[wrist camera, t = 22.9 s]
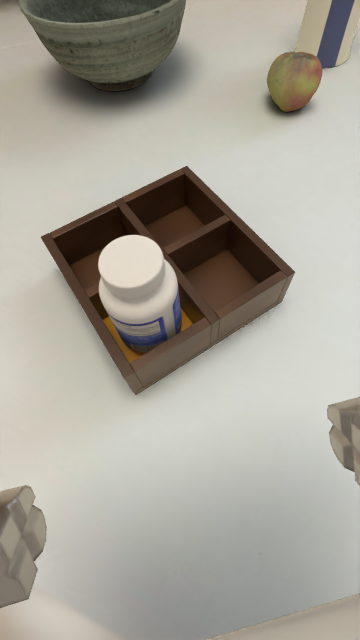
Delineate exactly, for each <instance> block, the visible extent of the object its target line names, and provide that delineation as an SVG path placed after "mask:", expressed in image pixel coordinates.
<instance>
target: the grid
mask: <svg viewBox="0 0 360 640" xmlns="http://www.w3.org/2000/svg"><path fill="white" fill-rule="evenodd" d="M127 235H140V236H144V237H147V238H149V239H151V240H153V241H154V242H155V243H157V245H158V246H159V247H160V249H161V251H162V253H163V257H164V259H165V260H166V261H167V262H168V263H169V264H170V265H171V267H172V268H173V270H174V272H175V274H176V277H177V282H178V290H179V300H180V310H181V319H182V327H181V332H180V333H178V334H176V335H175V336H173V337H171V338H170V339H168V340H167V341H165V342H163V343H162V344H160V345H158V346H157V347H155V348H153V349H152V350H150V351H149V352H147V353H145V354H144V355H141V354H138V353H135V352H133V351H132V350H130V349H129V348H128V347H127V346H126V345H125V344H124V342H123V341H122V339H121V338H120V336H119V334H118V332H117V330H116V328H115V326H114V324H113V323H112V321H111V319H110V317H109V315H108V313H107V311H106V310H105V308H104V306H103V303H102V301H101V299H100V295H99V282H100V278H101V275H100V272H99V268H98V261H99V257H100V254H101V252H102V251H103V249H104V248H105V247H106V246H107V245H108V244H109V243H110V242H112V241H113V240H115V239H117V238H120V237H123V236H127ZM41 239H42V240H43V242H44V244H45V245H46V247H47V249H48V250H49V252H50V254H51V255H52V257H53V259H54V260H55V262H56V264H57V266H58V267H59V269H60V271H61V272H62V274H63V276H64V277H65V279H66V281H67V282H68V284H69V286H70V287H71V289H72V291H73V293H74V294H75V296H76V298H77V299H78V301H79V303H80V304H81V306H82V308H83V309H84V311H85V313H86V314H87V316H88V318H89V320H90V321H91V323H92V325H93V326H94V328H95V330H96V331H97V333H98V335H99V336H100V338H101V340H102V341H103V343H104V345H105V347H106V348H107V350H108V352H109V353H110V355H111V357H112V358H113V360H114V362H115V363H116V365H117V367H118V368H119V370H120V372H121V374H122V375H123V377H124V379H125V380H126V382H127V383H128V384H129V386H130V387H131V389H132V390H133V392H134V393H135V395H137V394H138V393H140V392H141V391H143V390H144V389H146V388H148V387H149V386H151V385H152V384H154V383H155V382H157V381H158V380H160V379H162V378H163V377H165V376H166V375H168V374H169V373H171V372H173V371H174V370H176V369H177V368H179V367H180V366H182V365H183V364H185V363H187V362H188V361H190V360H191V359H193V358H194V357H196V356H198V355H199V354H201V353H202V352H204V351H205V350H207V349H208V348H210V347H212V346H213V345H215V344H216V343H218V342H219V341H221V340H223V339H224V338H226V337H227V336H229V335H230V334H232V333H233V332H235V331H237V330H238V329H240V328H241V327H243V326H244V325H246V324H247V323H249V322H251V321H252V320H254V319H255V318H257V317H258V316H260V315H262V314H263V313H265V312H266V311H268V310H269V309H271V308H272V307H274V306H276V305H277V304H279V303H280V302H282V300H283V298H284V296H285V293H286V291H287V289H288V287H289V285H290V282H291V280H292V278H293V276H294V273H295V271H294V270H293V269H292V268H291V267H290V266H288V265H287V264H286V263H285V262H284V261H283V260H282V259H281V258H280V257H279V256H278V255H277V254H276V253H275V252H274V251H273V250H272V249H271V248H270V247H269V246H268V245H267V244H266V243H265V242H264V241H263V240H262V239H261V238H260V237H259V236H258V235H257V234H256V233H255V232H254V231H253V230H252V229H251V228H250V227H249V226H248V225H247V224H246V223H245V222H244V221H243V220H242V219H241V218H239V217H238V216H237V215H236V214H235V213H234V212H233V211H232V210H231V209H230V208H229V207H228V206H227V205H226V204H225V203H224V202H223V201H222V200H221V199H220V198H219V197H218V196H217V195H216V194H215V193H214V192H213V191H212V190H211V189H210V188H209V187H208V186H207V185H206V184H205V183H204V182H203V181H202V180H201V179H200V178H199V177H198V176H197V175H196V174H195V173H194V172H193V171H192V170H190V169H189V168H188V167H187V166H185V167H183V168H181V169H179V170H177V171H175V172H173V173H171V174H169V175H167V176H165V177H163V178H161V179H159V180H157V181H155V182H153V183H151V184H149V185H147V186H144V187H142V188H140V189H138V190H136V191H134V192H132V193H130V194H128V195H126V196H124V197H122V198H120V199H118V200H116V201H114V202H112V203H110V204H108V205H106V206H104V207H102V208H100V209H98V210H95V211H93V212H91V213H89V214H87V215H85V216H83V217H81V218H79V219H77V220H75V221H73V222H71V223H69V224H67V225H65V226H63V227H61V228H59V229H57V230H54V231H52V232H50V234H49V233H48V234H46V235H44V236H42V237H41Z"/></svg>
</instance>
